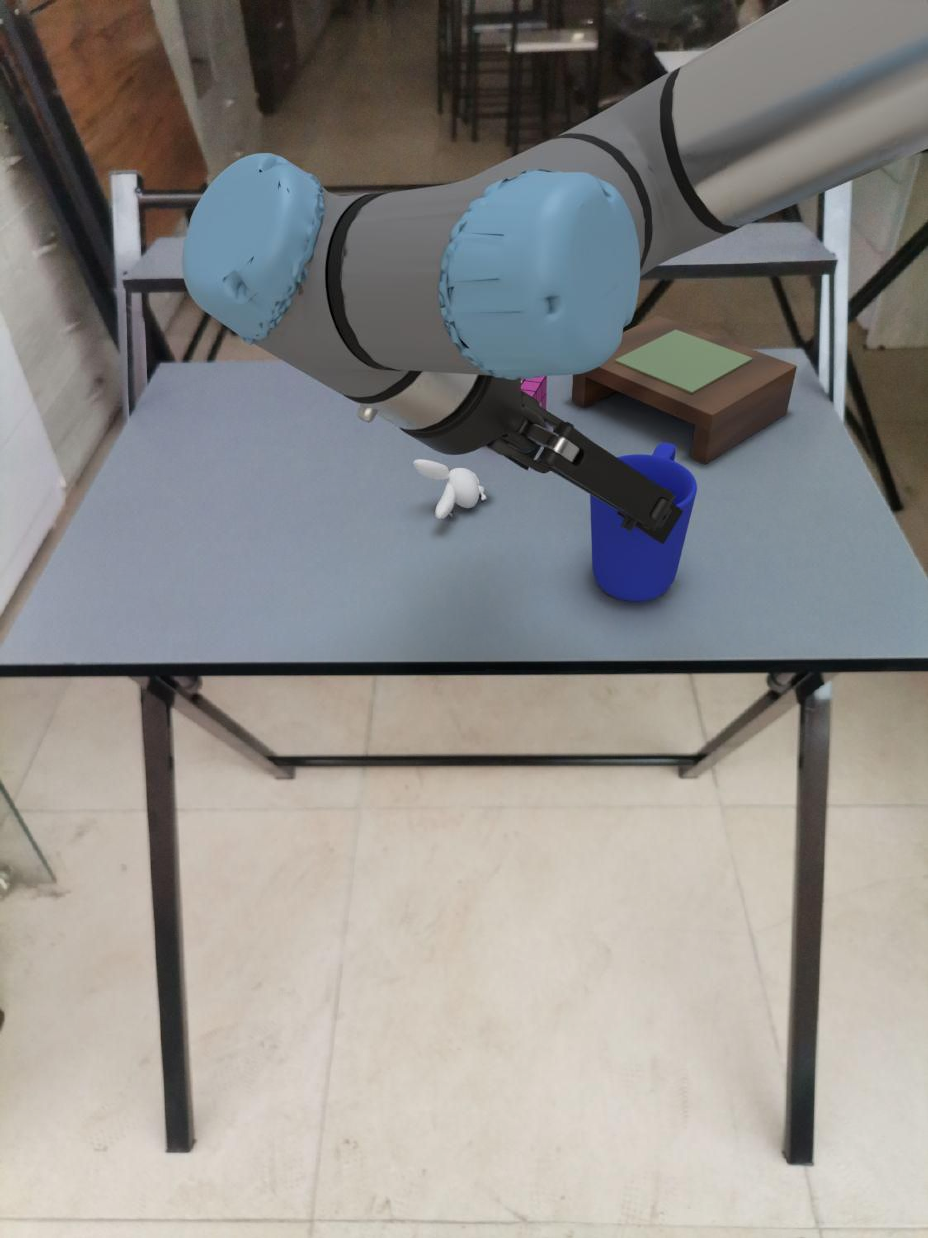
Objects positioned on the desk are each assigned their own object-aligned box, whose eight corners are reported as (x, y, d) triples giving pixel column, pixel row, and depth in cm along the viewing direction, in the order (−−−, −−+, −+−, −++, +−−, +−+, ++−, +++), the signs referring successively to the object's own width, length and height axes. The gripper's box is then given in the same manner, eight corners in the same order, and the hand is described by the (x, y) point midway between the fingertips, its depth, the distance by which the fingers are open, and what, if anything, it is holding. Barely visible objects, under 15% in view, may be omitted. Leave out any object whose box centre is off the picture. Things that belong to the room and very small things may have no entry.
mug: (703, 538, 82) (719, 440, 75) (667, 623, 74) (682, 521, 67) (614, 519, 85) (622, 423, 78) (570, 598, 77) (575, 499, 70)
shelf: (787, 413, 98) (797, 363, 94) (705, 464, 91) (713, 413, 87) (654, 360, 108) (658, 313, 104) (571, 402, 101) (573, 354, 97)
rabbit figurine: (505, 508, 87) (447, 509, 81) (478, 529, 89) (420, 531, 83) (480, 454, 88) (422, 451, 82) (454, 476, 91) (396, 474, 85)
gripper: (278, 360, 60) (461, 467, 77) (559, 520, 45) (706, 608, 62) (334, 254, 59) (506, 387, 76) (639, 384, 44) (766, 512, 61)
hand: (597, 487), depth 69 cm, fingers open, 13 cm apart
